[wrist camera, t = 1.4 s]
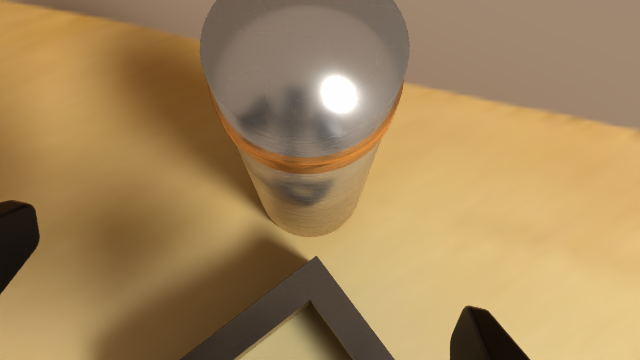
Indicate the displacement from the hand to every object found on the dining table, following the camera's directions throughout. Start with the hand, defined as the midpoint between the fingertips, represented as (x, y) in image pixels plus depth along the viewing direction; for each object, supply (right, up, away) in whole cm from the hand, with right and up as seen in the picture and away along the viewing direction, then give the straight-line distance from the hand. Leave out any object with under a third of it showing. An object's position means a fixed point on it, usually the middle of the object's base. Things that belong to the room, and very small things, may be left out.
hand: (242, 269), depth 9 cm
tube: (+1, +1, +13) cm, 13 cm away
